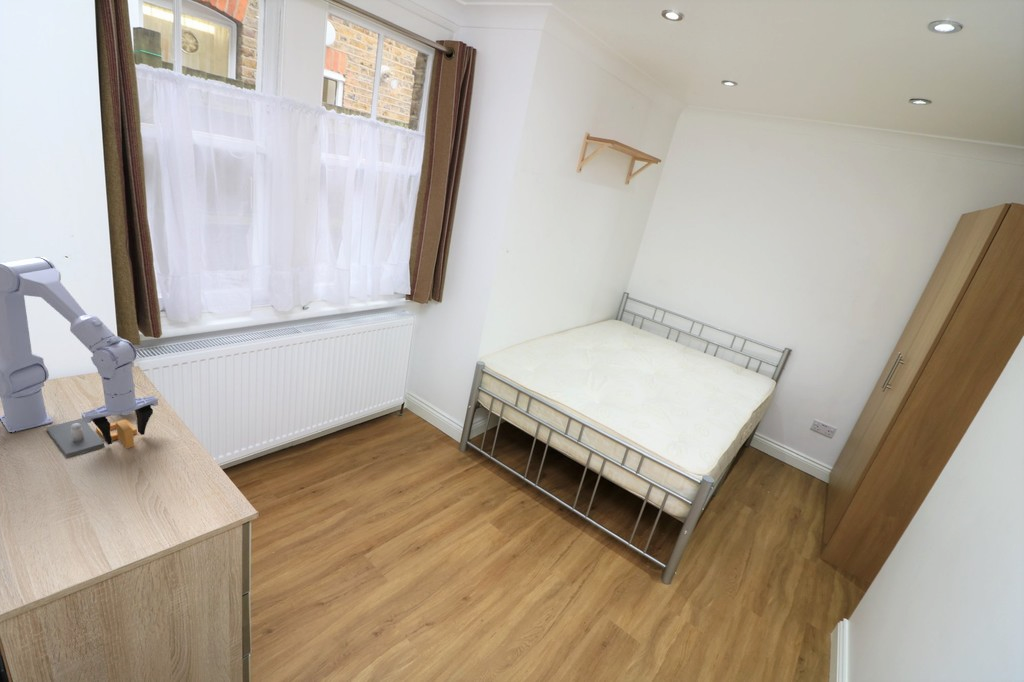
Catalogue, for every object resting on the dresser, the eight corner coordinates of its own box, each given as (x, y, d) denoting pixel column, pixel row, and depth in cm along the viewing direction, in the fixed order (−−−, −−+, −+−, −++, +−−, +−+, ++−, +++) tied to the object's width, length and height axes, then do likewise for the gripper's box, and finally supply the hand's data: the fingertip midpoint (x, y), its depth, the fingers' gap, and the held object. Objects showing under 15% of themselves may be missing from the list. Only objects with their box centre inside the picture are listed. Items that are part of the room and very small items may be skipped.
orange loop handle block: (96, 431, 120) (93, 414, 119) (127, 423, 125) (125, 406, 124) (114, 452, 114) (112, 434, 113) (145, 442, 119) (143, 425, 118)
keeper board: (46, 430, 117) (43, 411, 116) (83, 421, 123) (80, 403, 121) (66, 457, 110) (63, 437, 108) (104, 446, 116) (101, 427, 114)
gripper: (86, 405, 105) (94, 455, 110) (161, 387, 117) (165, 434, 122) (75, 393, 109) (83, 442, 113) (149, 377, 120) (154, 423, 125)
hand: (125, 437), depth 118 cm, fingers open, 6 cm apart
